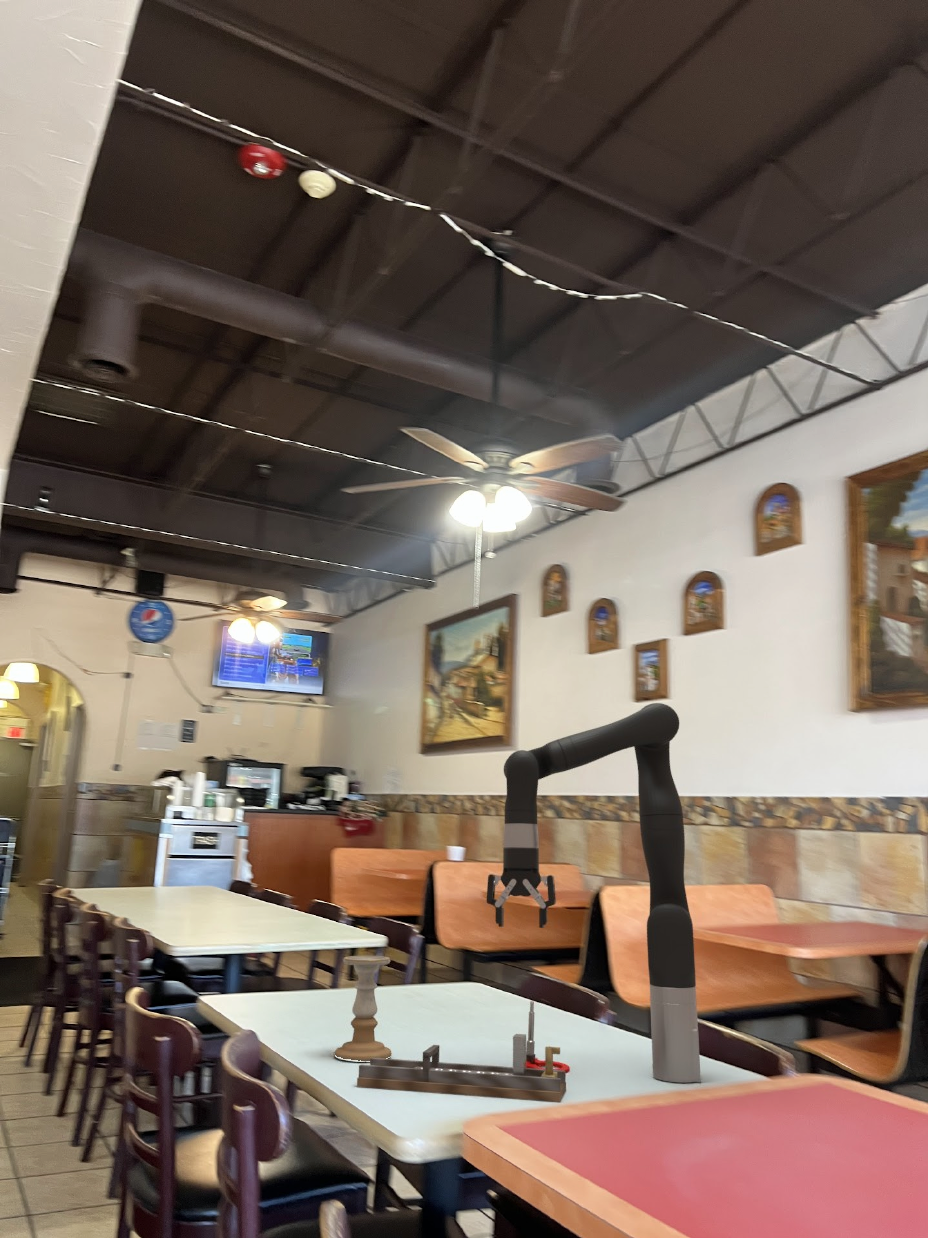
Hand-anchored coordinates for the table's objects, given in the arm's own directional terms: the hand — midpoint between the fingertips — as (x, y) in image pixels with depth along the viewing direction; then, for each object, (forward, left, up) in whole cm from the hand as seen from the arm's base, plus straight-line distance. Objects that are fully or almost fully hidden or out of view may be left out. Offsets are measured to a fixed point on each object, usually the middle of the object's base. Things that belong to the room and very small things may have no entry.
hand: (521, 927), depth 184 cm
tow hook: (-4, -8, -28) cm, 30 cm away
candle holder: (+36, -8, -28) cm, 47 cm away
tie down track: (+9, +13, -28) cm, 32 cm away
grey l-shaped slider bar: (+8, +13, -26) cm, 31 cm away
